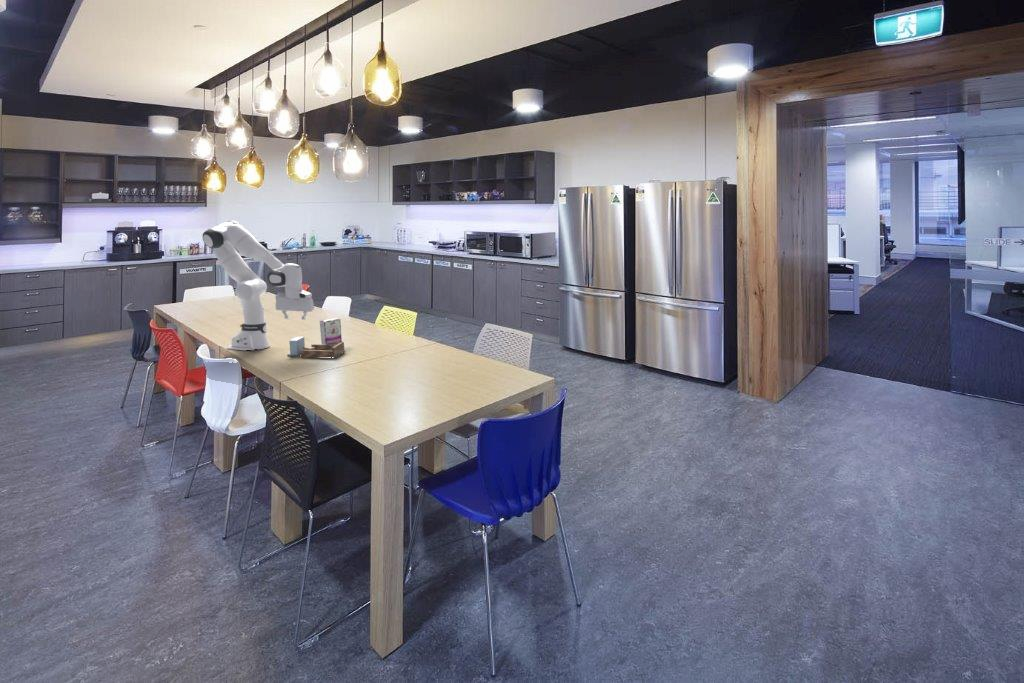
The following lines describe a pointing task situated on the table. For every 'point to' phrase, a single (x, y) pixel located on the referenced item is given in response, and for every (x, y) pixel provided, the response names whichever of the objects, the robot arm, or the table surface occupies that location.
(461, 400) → the table surface
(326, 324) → the candy bar box
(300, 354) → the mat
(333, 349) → the tray
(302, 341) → the blue-grey box
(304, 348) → the offcut short
